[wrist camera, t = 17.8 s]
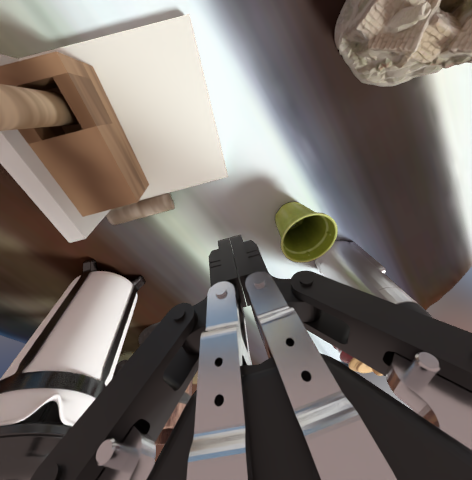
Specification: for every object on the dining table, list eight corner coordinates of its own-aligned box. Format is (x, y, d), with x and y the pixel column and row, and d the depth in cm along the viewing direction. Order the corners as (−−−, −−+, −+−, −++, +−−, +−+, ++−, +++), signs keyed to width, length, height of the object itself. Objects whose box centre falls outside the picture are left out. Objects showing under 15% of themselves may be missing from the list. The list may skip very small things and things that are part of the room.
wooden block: (173, 200, 35) (167, 188, 32) (174, 212, 33) (167, 201, 31) (118, 215, 34) (106, 204, 32) (116, 228, 33) (104, 218, 31)
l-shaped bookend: (189, 19, 23) (184, -37, 14) (227, 174, 33) (237, 197, 24) (10, 65, 23) (-108, 39, 14) (103, 207, 33) (69, 242, 24)
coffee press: (44, 264, 37) (-276, 587, 12) (133, 251, 38) (12, 516, 13) (89, 321, 46) (-35, 564, 22) (159, 308, 48) (117, 523, 23)
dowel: (75, 90, 22) (-27, 71, 12) (92, 120, 23) (14, 124, 13) (50, 98, 22) (-74, 85, 12) (68, 127, 23) (-27, 137, 13)
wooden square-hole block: (92, 66, 23) (56, 51, 17) (149, 184, 30) (137, 202, 25) (32, 81, 22) (-26, 72, 17) (104, 196, 30) (82, 216, 25)
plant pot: (271, 242, 42) (286, 269, 35) (261, 203, 37) (276, 225, 30) (313, 227, 42) (337, 252, 35) (310, 185, 36) (337, 204, 29)
